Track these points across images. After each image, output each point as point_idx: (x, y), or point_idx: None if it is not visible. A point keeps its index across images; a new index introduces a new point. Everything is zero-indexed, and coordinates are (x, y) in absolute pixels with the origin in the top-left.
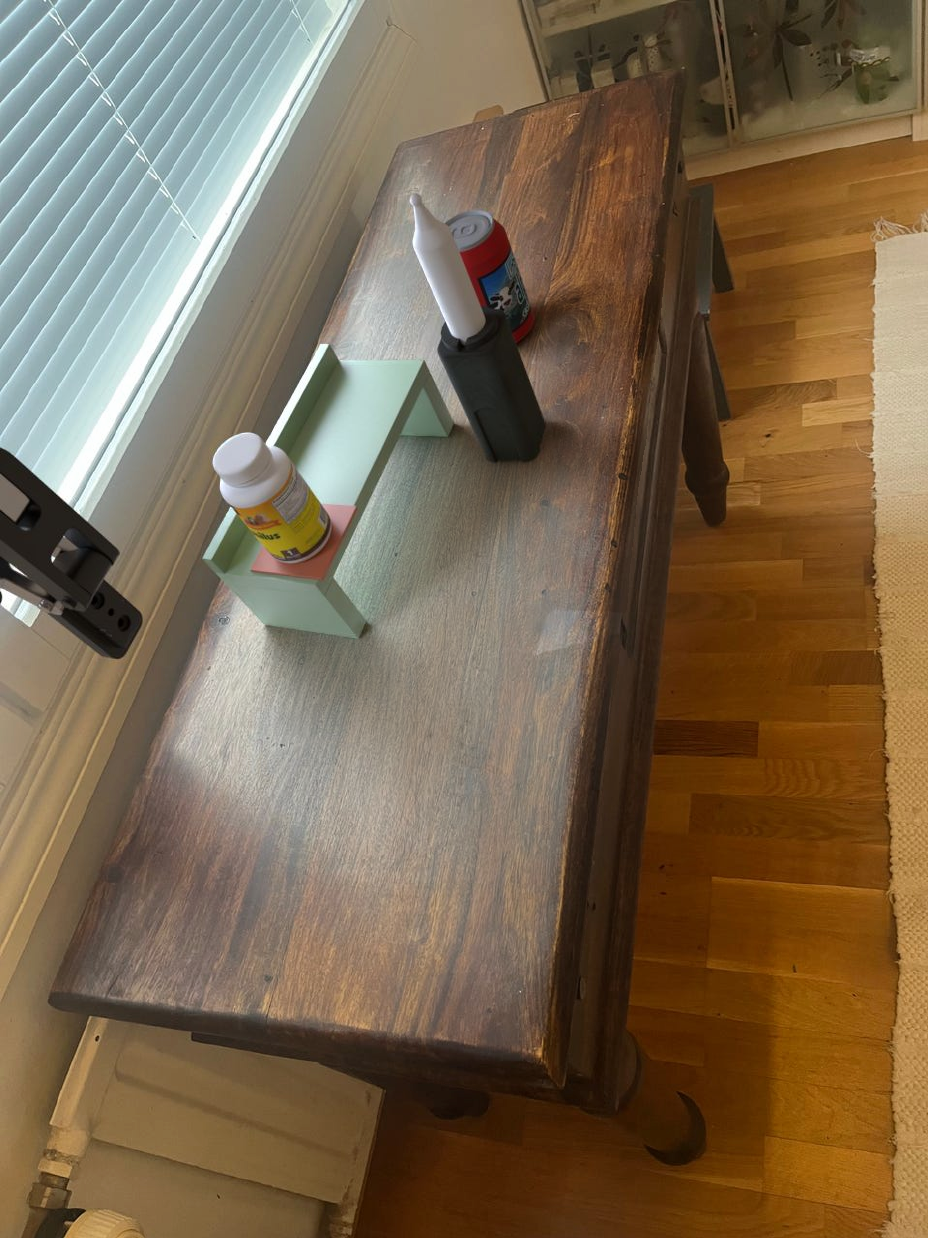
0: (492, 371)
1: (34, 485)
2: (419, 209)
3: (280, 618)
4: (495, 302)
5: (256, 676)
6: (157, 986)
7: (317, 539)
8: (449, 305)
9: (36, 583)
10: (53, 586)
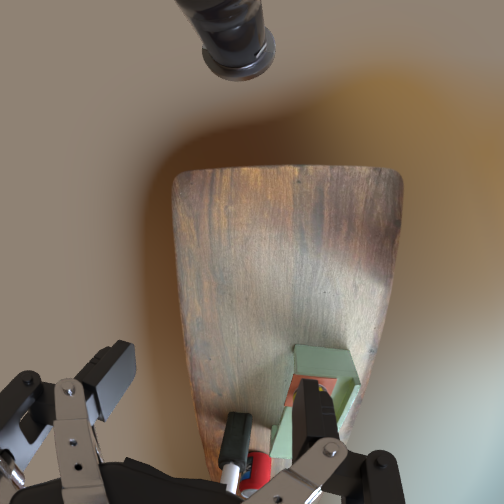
0: (223, 449)
1: None
2: None
3: (336, 353)
4: (248, 468)
5: (347, 325)
6: (356, 173)
7: (295, 393)
8: (228, 477)
9: (23, 401)
10: (11, 392)
